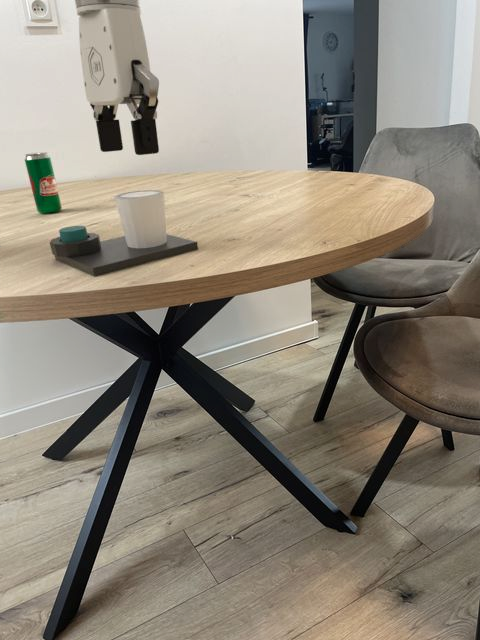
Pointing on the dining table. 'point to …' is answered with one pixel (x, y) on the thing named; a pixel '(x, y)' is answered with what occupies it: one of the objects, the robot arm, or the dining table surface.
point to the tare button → (73, 233)
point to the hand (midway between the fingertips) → (128, 152)
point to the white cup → (142, 218)
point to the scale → (114, 253)
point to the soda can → (43, 182)
